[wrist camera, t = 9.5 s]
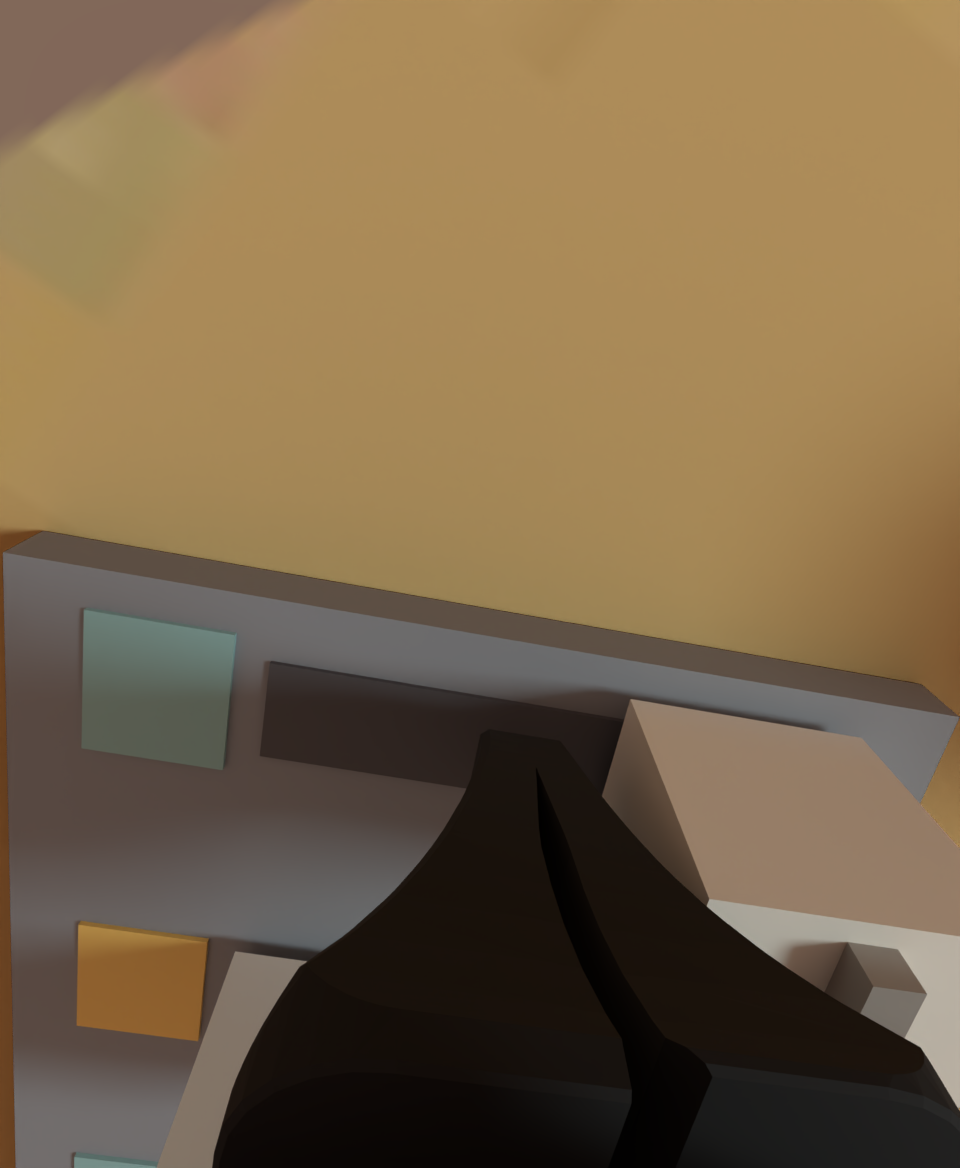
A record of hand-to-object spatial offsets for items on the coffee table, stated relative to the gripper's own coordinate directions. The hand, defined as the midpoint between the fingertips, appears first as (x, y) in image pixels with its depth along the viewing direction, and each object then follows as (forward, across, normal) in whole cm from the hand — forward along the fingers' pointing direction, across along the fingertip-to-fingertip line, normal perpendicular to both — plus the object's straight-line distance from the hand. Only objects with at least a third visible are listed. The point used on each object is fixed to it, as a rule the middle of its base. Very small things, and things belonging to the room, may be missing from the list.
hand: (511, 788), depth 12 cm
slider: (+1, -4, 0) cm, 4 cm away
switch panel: (+2, 0, +7) cm, 7 cm away
